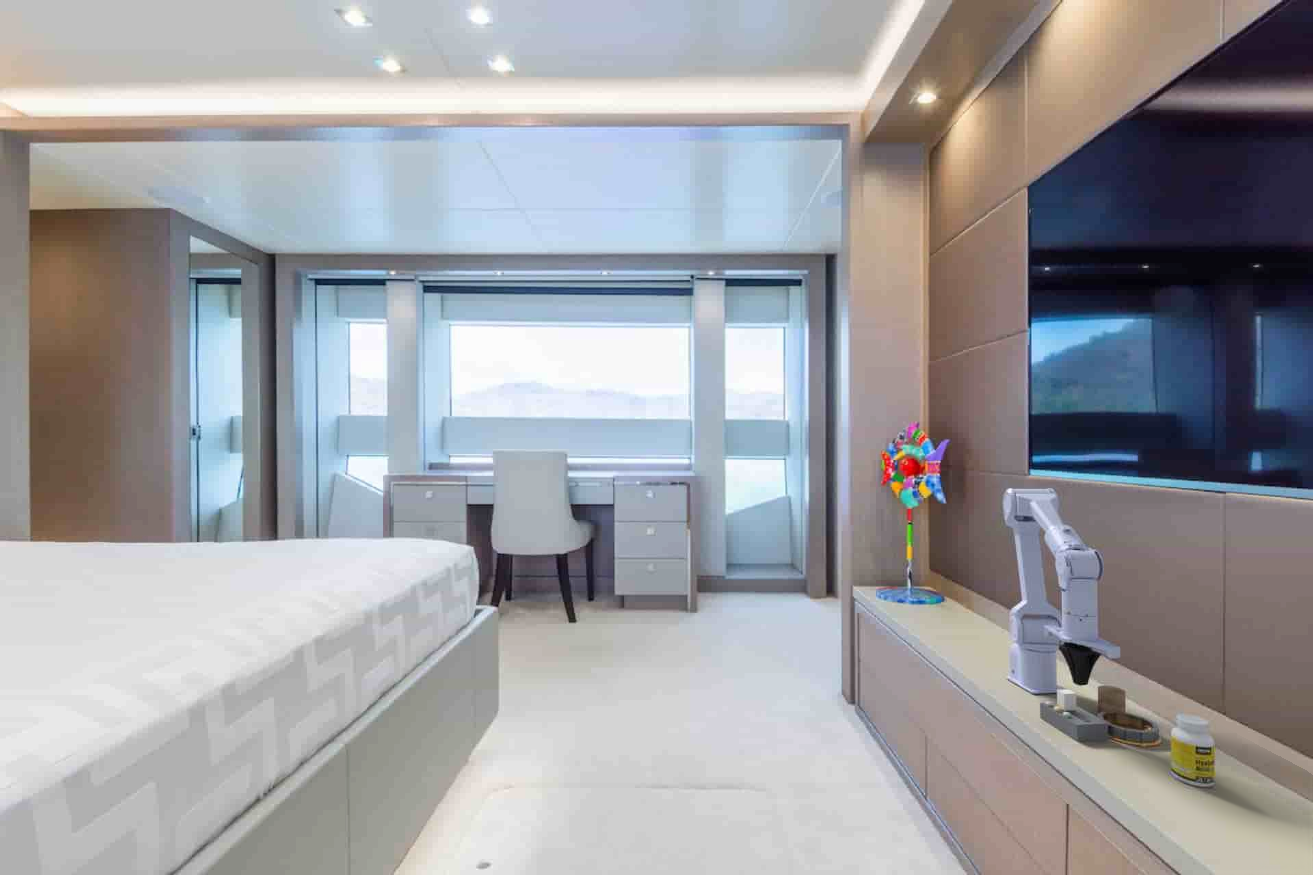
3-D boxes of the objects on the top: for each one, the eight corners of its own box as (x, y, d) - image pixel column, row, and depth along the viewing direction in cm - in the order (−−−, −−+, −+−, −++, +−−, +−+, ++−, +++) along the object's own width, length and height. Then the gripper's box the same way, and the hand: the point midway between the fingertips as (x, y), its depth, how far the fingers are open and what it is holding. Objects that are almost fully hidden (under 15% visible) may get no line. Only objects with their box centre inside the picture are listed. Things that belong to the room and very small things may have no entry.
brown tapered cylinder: (1092, 710, 130) (1092, 685, 130) (1113, 709, 130) (1113, 685, 130) (1109, 720, 125) (1109, 694, 125) (1131, 719, 126) (1131, 693, 126)
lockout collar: (1082, 722, 124) (1082, 711, 124) (1131, 720, 125) (1130, 708, 125) (1123, 747, 114) (1123, 734, 114) (1176, 744, 115) (1176, 731, 115)
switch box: (1040, 717, 127) (1040, 699, 127) (1069, 716, 127) (1068, 698, 127) (1077, 741, 117) (1076, 721, 117) (1108, 739, 117) (1107, 720, 117)
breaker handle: (1057, 706, 124) (1056, 689, 124) (1068, 705, 125) (1068, 689, 125) (1064, 710, 122) (1064, 693, 122) (1076, 709, 123) (1076, 693, 123)
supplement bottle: (1198, 790, 100) (1197, 727, 100) (1163, 773, 105) (1162, 713, 105) (1223, 785, 101) (1222, 723, 102) (1187, 768, 107) (1186, 709, 107)
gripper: (1031, 605, 128) (1032, 672, 128) (1098, 625, 114) (1099, 701, 114) (1059, 602, 130) (1060, 669, 130) (1128, 621, 116) (1129, 696, 116)
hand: (1080, 683), depth 122 cm, fingers closed
